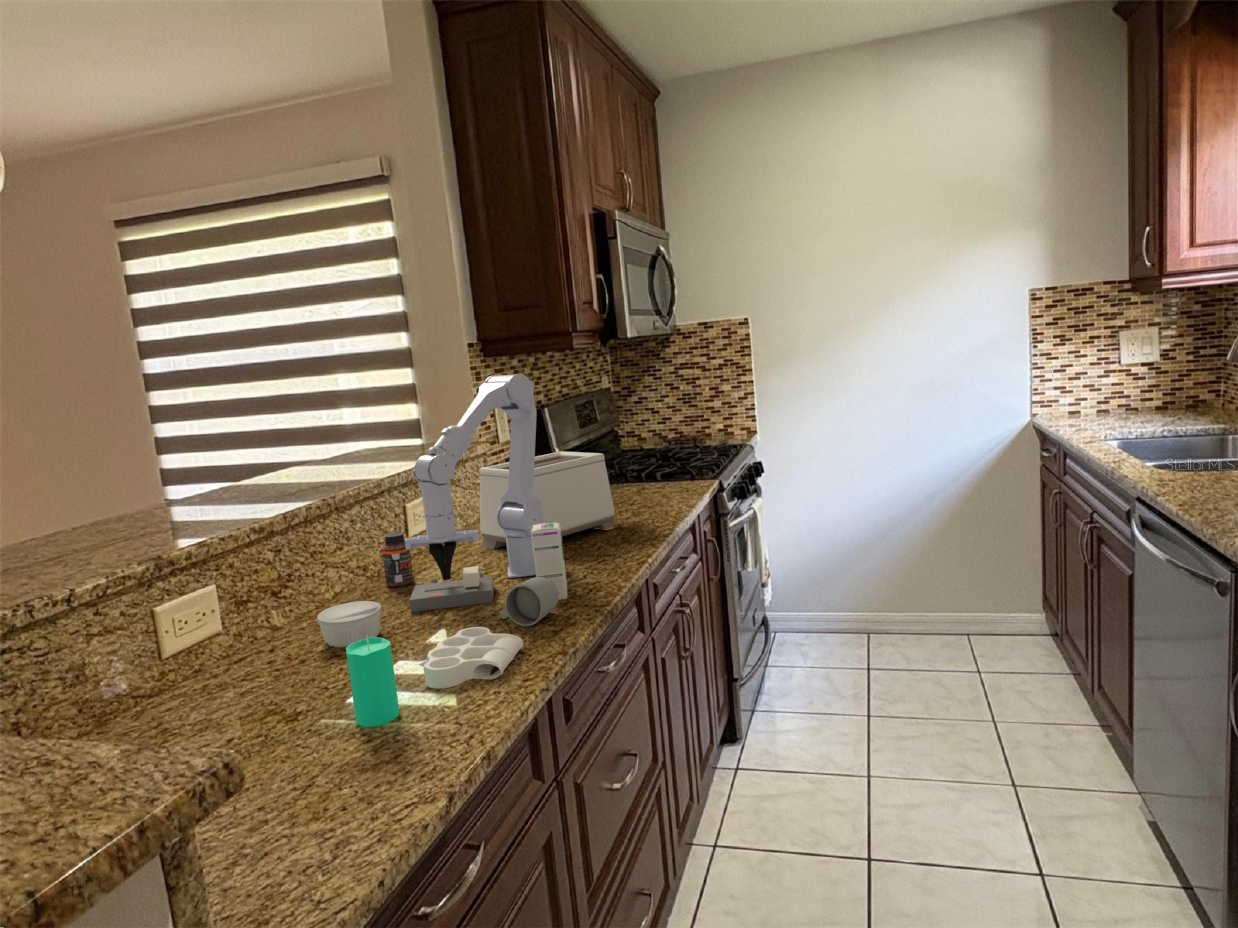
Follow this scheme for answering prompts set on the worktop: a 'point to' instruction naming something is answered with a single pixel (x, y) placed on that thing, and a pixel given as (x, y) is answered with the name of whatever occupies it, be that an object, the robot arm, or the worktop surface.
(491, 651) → the white multi-cup tray
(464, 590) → the panel
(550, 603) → the ceramic mug
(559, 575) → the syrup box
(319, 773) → the worktop surface
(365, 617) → the ramekin
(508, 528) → the robot arm
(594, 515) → the toaster
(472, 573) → the breaker knob
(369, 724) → the candle
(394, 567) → the supplement bottle
